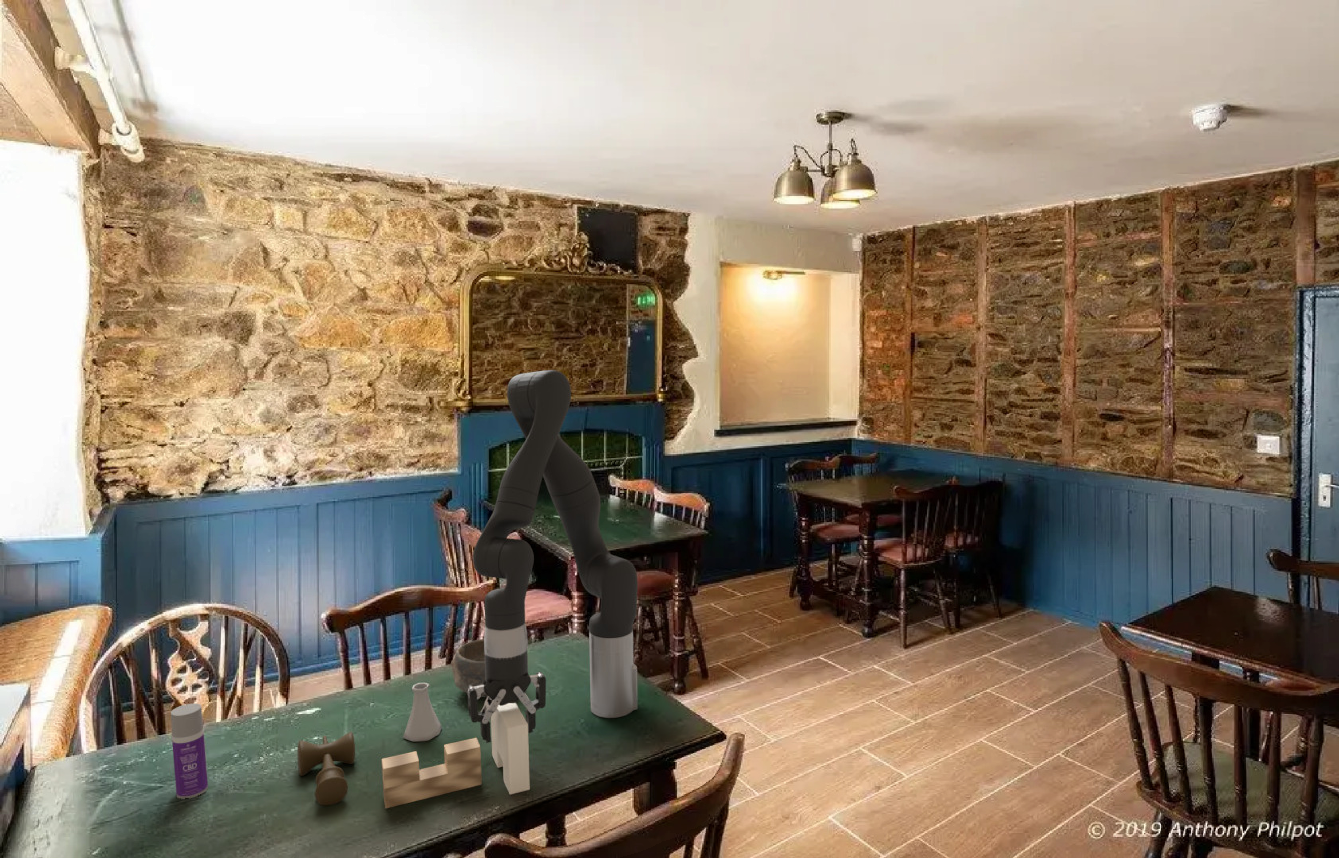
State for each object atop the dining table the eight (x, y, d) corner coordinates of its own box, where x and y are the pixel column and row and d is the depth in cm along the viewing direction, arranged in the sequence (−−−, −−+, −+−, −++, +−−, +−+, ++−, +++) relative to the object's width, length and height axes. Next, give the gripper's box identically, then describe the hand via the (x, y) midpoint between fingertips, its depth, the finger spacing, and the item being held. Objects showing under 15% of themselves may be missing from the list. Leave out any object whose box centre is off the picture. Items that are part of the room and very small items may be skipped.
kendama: (300, 817, 125) (296, 756, 142) (362, 802, 129) (351, 745, 147) (299, 783, 124) (296, 726, 142) (362, 769, 129) (351, 716, 146)
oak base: (477, 774, 136) (476, 737, 135) (481, 784, 133) (480, 746, 132) (383, 797, 129) (381, 758, 128) (385, 808, 126) (383, 768, 125)
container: (184, 802, 128) (178, 718, 127) (171, 793, 131) (164, 711, 129) (213, 788, 132) (207, 707, 131) (199, 780, 135) (193, 700, 133)
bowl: (467, 676, 177) (466, 635, 176) (530, 679, 175) (529, 638, 174) (441, 704, 163) (440, 659, 162) (510, 708, 161) (508, 663, 160)
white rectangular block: (492, 755, 142) (490, 694, 141) (510, 751, 144) (508, 691, 143) (509, 794, 130) (507, 728, 128) (529, 789, 131) (527, 723, 130)
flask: (430, 744, 146) (427, 695, 145) (396, 741, 148) (394, 692, 147) (448, 726, 154) (446, 679, 152) (415, 723, 155) (413, 676, 154)
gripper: (539, 634, 141) (541, 718, 142) (461, 647, 135) (464, 735, 136) (550, 648, 134) (552, 736, 136) (469, 662, 128) (472, 755, 130)
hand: (508, 735), depth 136 cm, fingers open, 7 cm apart
